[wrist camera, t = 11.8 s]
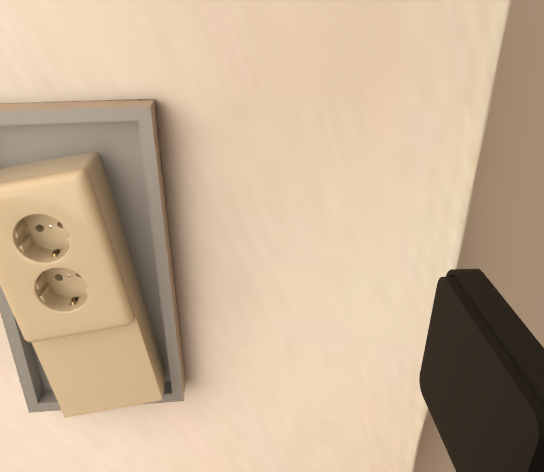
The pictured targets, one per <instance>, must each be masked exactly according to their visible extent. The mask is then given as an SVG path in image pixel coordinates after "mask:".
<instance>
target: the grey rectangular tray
mask: <svg viewBox="0 0 544 472" xmlns="http://www.w3.org/2000/svg"><path fill="white" fill-rule="evenodd" d="M90 152H97V153H98V154H99V155H100V157H101V160H102V164H103V167H104V170H105V173H106V177H107V180H108V183H109V186H110V190H111V193H112V196H113V199H114V203H115V206H116V209H117V212H118V216H119V219H120V222H121V225H122V229H123V232H124V235H125V238H126V242H127V245H128V248H129V251H130V255H131V258H132V261H133V264H134V268H135V271H136V274H137V277H138V281H139V284H140V287H141V290H142V294H143V297H144V300H145V303H146V307H147V310H148V313H149V316H150V320H151V323H152V326H153V329H154V333H155V336H156V339H157V342H158V346H159V349H160V352H161V355H162V359H163V362H164V365H165V368H166V379H165V386H164V393H163V400H160V401H155V402H149V403H162V402H175V401H184V392H185V373H184V364H183V355H182V346H181V337H180V328H179V319H178V309H177V300H176V291H175V282H174V273H173V264H172V255H171V246H170V237H169V228H168V218H167V209H166V200H165V191H164V182H163V173H162V164H161V155H160V146H159V136H158V127H157V118H156V109H155V100H154V99H139V100H106V101H74V102H42V103H9V104H0V168H2V167H8V166H14V165H20V164H25V163H31V162H37V161H43V160H49V159H55V158H60V157H66V156H72V155H78V154H84V153H90ZM0 313H1V316H2V320H3V323H4V327H5V330H6V334H7V337H8V341H9V344H10V347H11V351H12V354H13V358H14V361H15V365H16V368H17V372H18V375H19V379H20V382H21V386H22V389H23V393H24V396H25V400H26V403H27V407H28V410H29V412H42V411H55V410H61V408H60V406H59V403H58V401H57V399H56V396H55V394H54V392H53V390H52V387H51V385H50V383H49V381H48V378H47V376H46V374H45V372H44V369H43V367H42V365H41V363H40V360H39V358H38V356H37V354H36V351H35V349H34V347H33V345H32V342H27V341H26V340H25V339H24V337H23V335H22V332H21V330H20V328H19V326H18V323H17V321H16V319H15V317H14V315H13V312H12V310H11V308H10V306H9V303H8V301H7V299H6V297H5V294H4V292H3V290H2V288H1V286H0ZM143 404H148V403H143Z"/></svg>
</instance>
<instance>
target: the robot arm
mask: <svg viewBox="0 0 544 472" xmlns="http://www.w3.org/2000/svg"><path fill="white" fill-rule="evenodd" d="M420 388H421V392H422V395H423V397H424V400H425V402H426V404H427V406H428V409H429V411H430V413H431V415H432V417H433V420H434V422H435V425H436V427H437V429H438V431H439V433H440V436H441V438H442V440H443V442H444V445H445V447H446V449H447V452H448V454H449V456H450V458H451V461H452V463H453V465H454V467H455V470H456V472H544V348H543V347H542V346H541V344H540V343H539V342H538V341H537V339H536V338H535V337H534V336H533V334H532V333H531V332H530V331H529V329H528V328H527V327H526V326H525V324H524V323H523V322H522V321H521V319H520V318H519V317H518V316H517V315H516V313H515V312H514V311H513V309H512V308H511V307H510V306H509V304H508V303H507V302H506V301H505V300H504V298H503V297H502V296H501V294H500V293H499V292H498V291H497V289H496V288H495V287H494V286H493V284H492V283H491V282H490V281H489V279H488V278H487V277H486V276H485V274H484V273H483V272H482V271H481V270H480V269H455V270H450V271H448V273H447V275H446V277H441V278H440V279H439V280H438V283H437V288H436V293H435V299H434V304H433V309H432V314H431V320H430V325H429V330H428V335H427V340H426V346H425V351H424V356H423V361H422V366H421V372H420Z"/></svg>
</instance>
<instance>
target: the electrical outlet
mask: <svg viewBox="0 0 544 472" xmlns="http://www.w3.org/2000/svg"><path fill="white" fill-rule="evenodd" d="M0 286H1V288H2V290H3V292H4V294H5V297H6V299H7V301H8V303H9V306H10V308H11V310H12V312H13V315H14V317H15V319H16V321H17V323H18V326H19V328H20V330H21V332H22V335H23V337H24V339H25V340H26V341H27V342H32V345H33V347H34V349H35V351H36V354H37V356H38V358H39V360H40V363H41V365H42V367H43V369H44V372H45V374H46V376H47V378H48V381H49V383H50V385H51V387H52V390H53V392H54V394H55V396H56V399H57V401H58V403H59V406H60V408H61V410H62V412H63V415H64V417H71V416H77V415H82V414H88V413H93V412H99V411H104V410H110V409H116V408H121V407H127V406H132V405H138V404H143V403H149V402H155V401H160V400H163V393H164V386H165V379H166V368H165V365H164V362H163V359H162V355H161V352H160V349H159V346H158V342H157V339H156V336H155V333H154V329H153V326H152V323H151V320H150V316H149V313H148V310H147V307H146V303H145V300H144V297H143V294H142V290H141V287H140V284H139V281H138V277H137V274H136V271H135V268H134V264H133V261H132V258H131V255H130V251H129V248H128V245H127V242H126V238H125V235H124V232H123V229H122V225H121V222H120V219H119V216H118V212H117V209H116V206H115V203H114V199H113V196H112V193H111V190H110V186H109V183H108V180H107V177H106V173H105V170H104V167H103V164H102V160H101V157H100V155H99V154H98V153H97V152H90V153H84V154H78V155H72V156H66V157H60V158H55V159H49V160H43V161H37V162H31V163H25V164H20V165H14V166H8V167H2V168H0Z"/></svg>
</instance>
